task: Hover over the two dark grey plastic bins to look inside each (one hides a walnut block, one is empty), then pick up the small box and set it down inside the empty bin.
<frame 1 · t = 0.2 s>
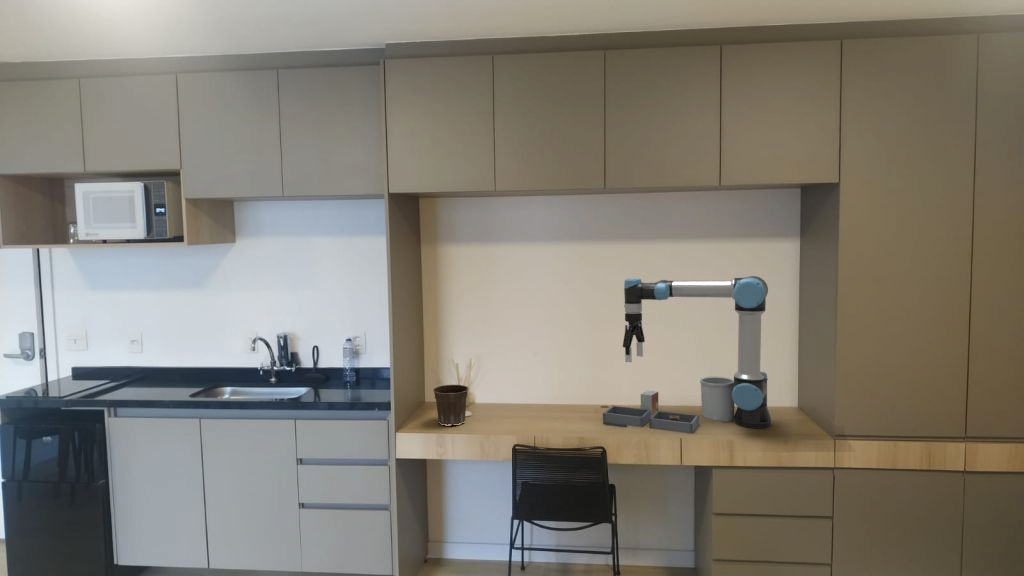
hand: (634, 359, 264), 28 cm above the table, fingers open, 13 cm apart
bin a: (674, 428, 252), on the table
walnut block: (674, 426, 251), point 1 cm above the table, touching bin a
utensil holder: (717, 418, 264), on the table
plant pot: (452, 423, 270), on the table
bin b: (627, 422, 262), on the table
small box: (649, 415, 272), on the table
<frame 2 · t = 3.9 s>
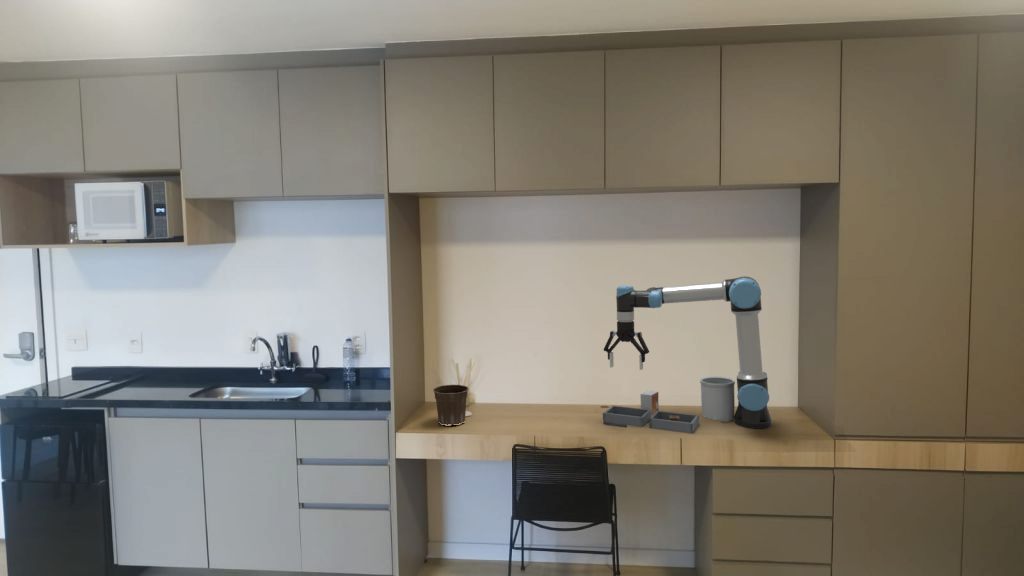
hand: (626, 368, 260), 25 cm above the table, fingers open, 13 cm apart
nothing on the table moved.
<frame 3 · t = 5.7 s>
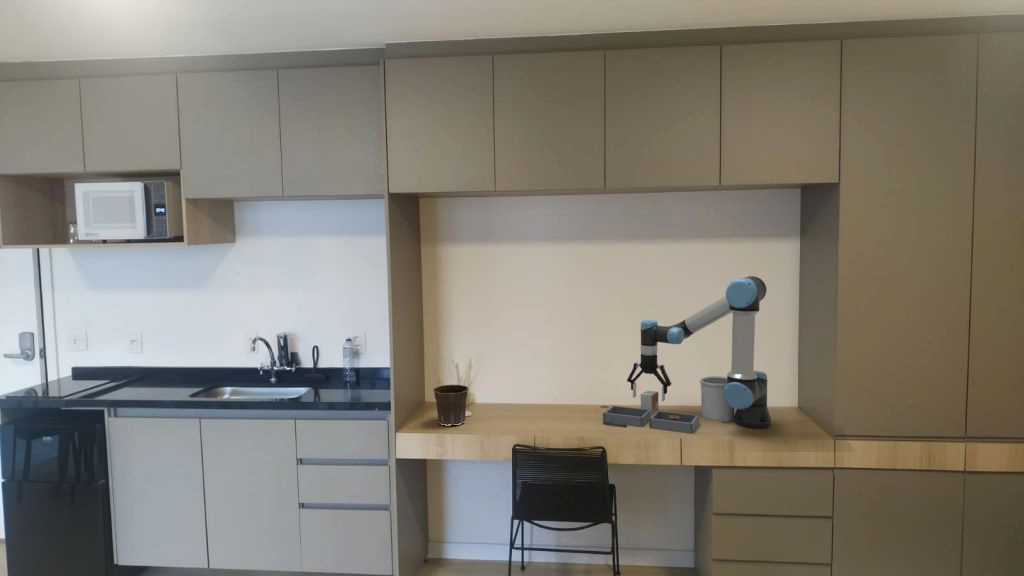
hand: (648, 398, 272), 7 cm above the table, fingers open, 13 cm apart
nothing on the table moved.
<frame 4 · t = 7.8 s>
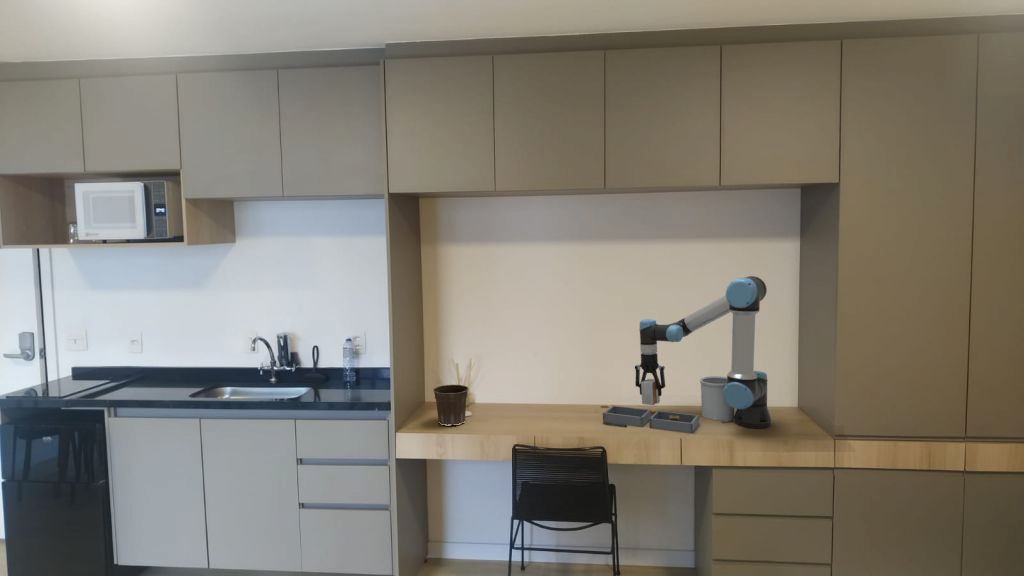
hand: (651, 402, 271), 6 cm above the table, fingers closed on small box, 6 cm apart
small box: (651, 403, 271), point 5 cm above the table, touching gripper
everything else where it was.
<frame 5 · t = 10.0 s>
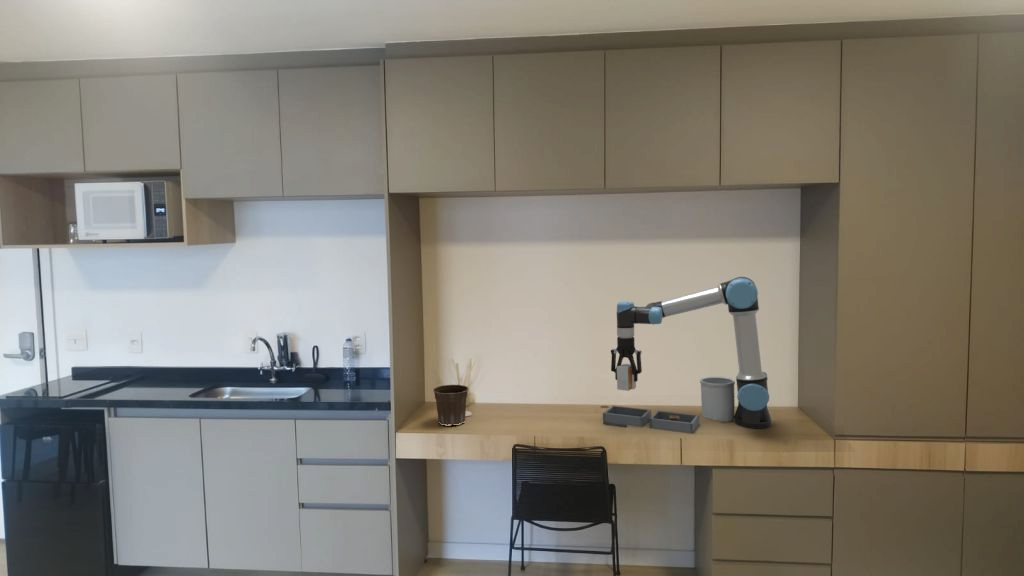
hand: (626, 387, 261), 16 cm above the table, fingers closed on small box, 6 cm apart
small box: (626, 388, 261), point 15 cm above the table, touching gripper
everything else where it was.
when the fingers open (3 cm above the table, at t = 12.4 s): small box drops 2 cm, resting on bin b.
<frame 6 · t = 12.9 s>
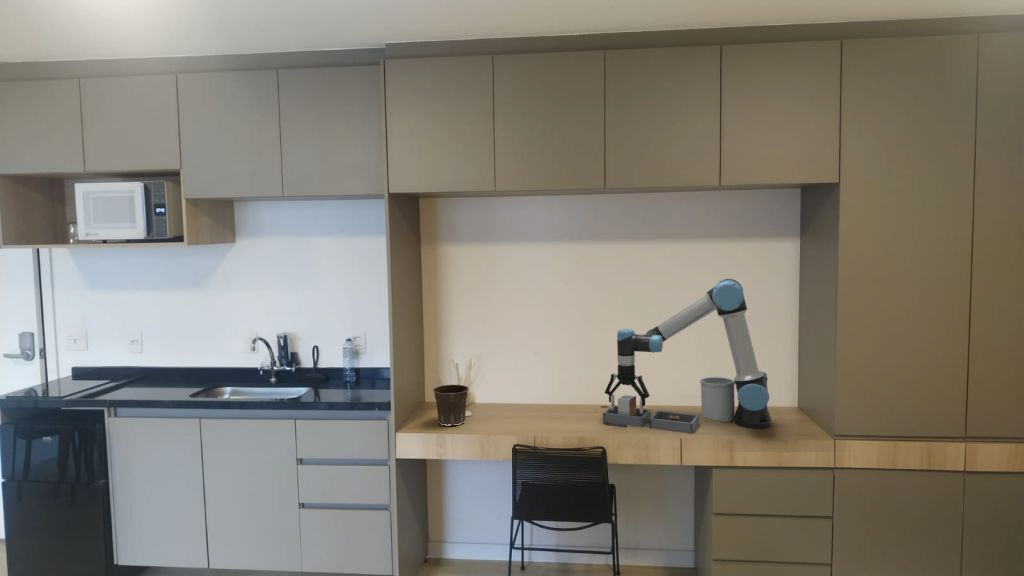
hand: (627, 411, 261), 5 cm above the table, fingers open, 13 cm apart
small box: (627, 420, 262), point 1 cm above the table, touching bin b
everything else where it was.
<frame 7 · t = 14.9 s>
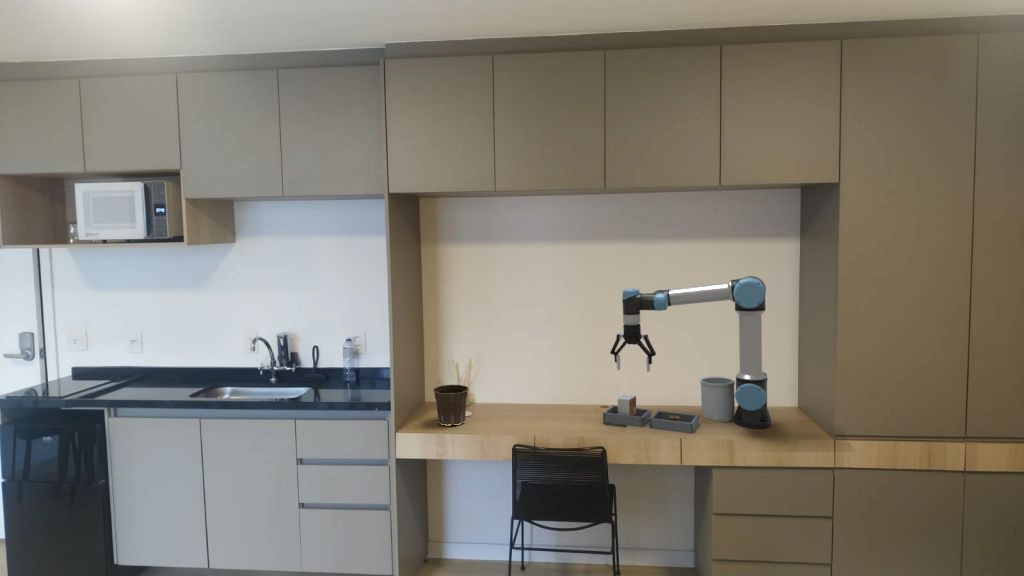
hand: (633, 370, 261), 23 cm above the table, fingers open, 13 cm apart
nothing on the table moved.
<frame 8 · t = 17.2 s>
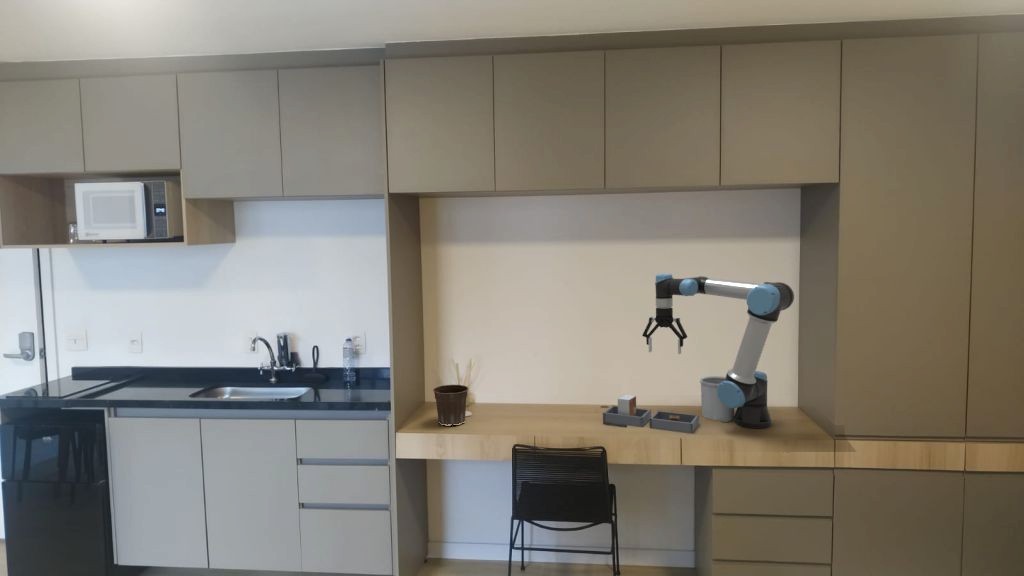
hand: (664, 352, 271), 29 cm above the table, fingers open, 13 cm apart
nothing on the table moved.
at the end: small box inside the target area on the bin b (0.1 cm from its centre), point 0.8 cm above the bin b's base; small box tilted 0°; walnut block moved 0.1 cm from its start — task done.
